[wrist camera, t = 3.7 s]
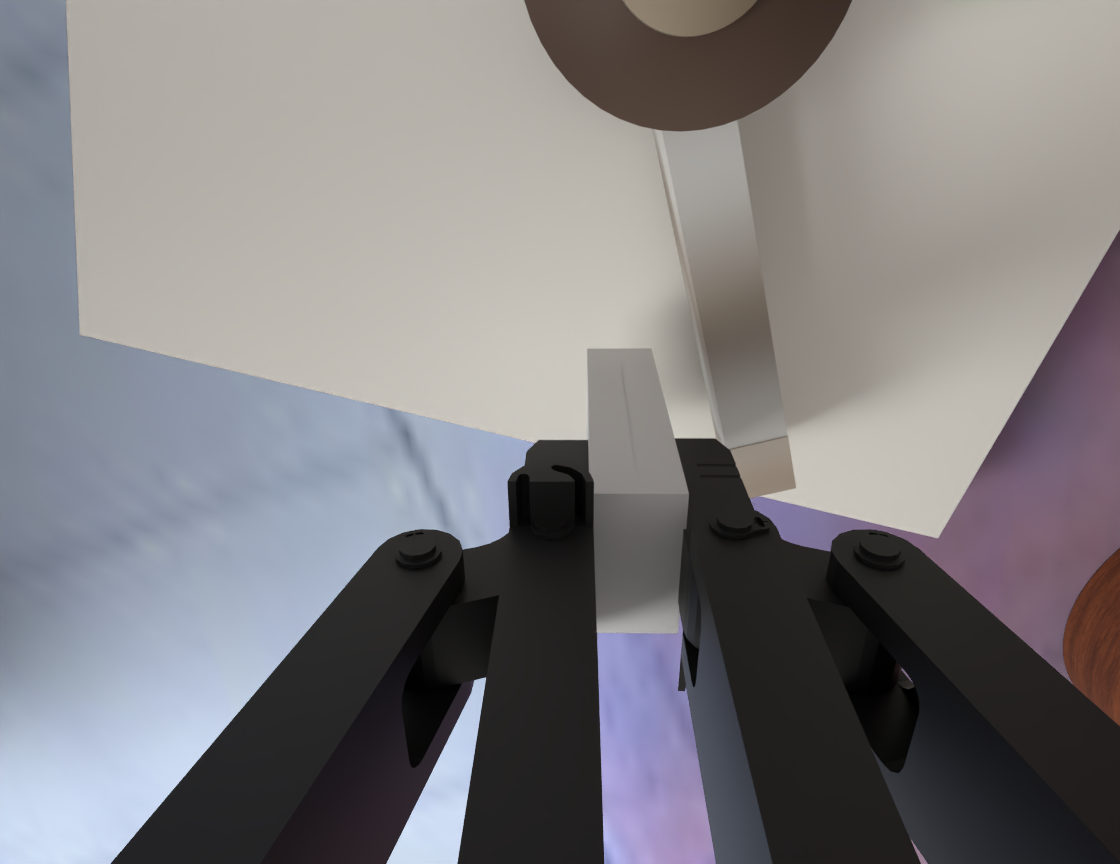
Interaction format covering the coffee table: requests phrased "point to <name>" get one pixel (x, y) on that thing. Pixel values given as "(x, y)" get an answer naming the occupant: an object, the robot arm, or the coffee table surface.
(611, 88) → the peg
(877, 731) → the robot arm
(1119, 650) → the music box
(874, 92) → the board
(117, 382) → the coffee table surface
